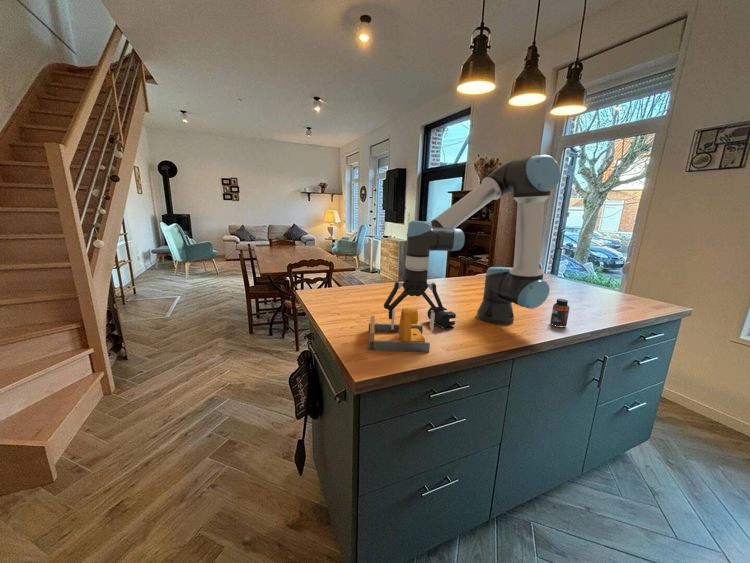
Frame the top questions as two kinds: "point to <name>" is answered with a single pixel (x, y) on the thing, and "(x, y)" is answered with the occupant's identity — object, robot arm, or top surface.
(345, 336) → the top surface
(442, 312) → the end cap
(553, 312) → the supplement bottle
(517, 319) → the top surface
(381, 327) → the rail
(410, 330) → the bracket
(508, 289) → the robot arm
